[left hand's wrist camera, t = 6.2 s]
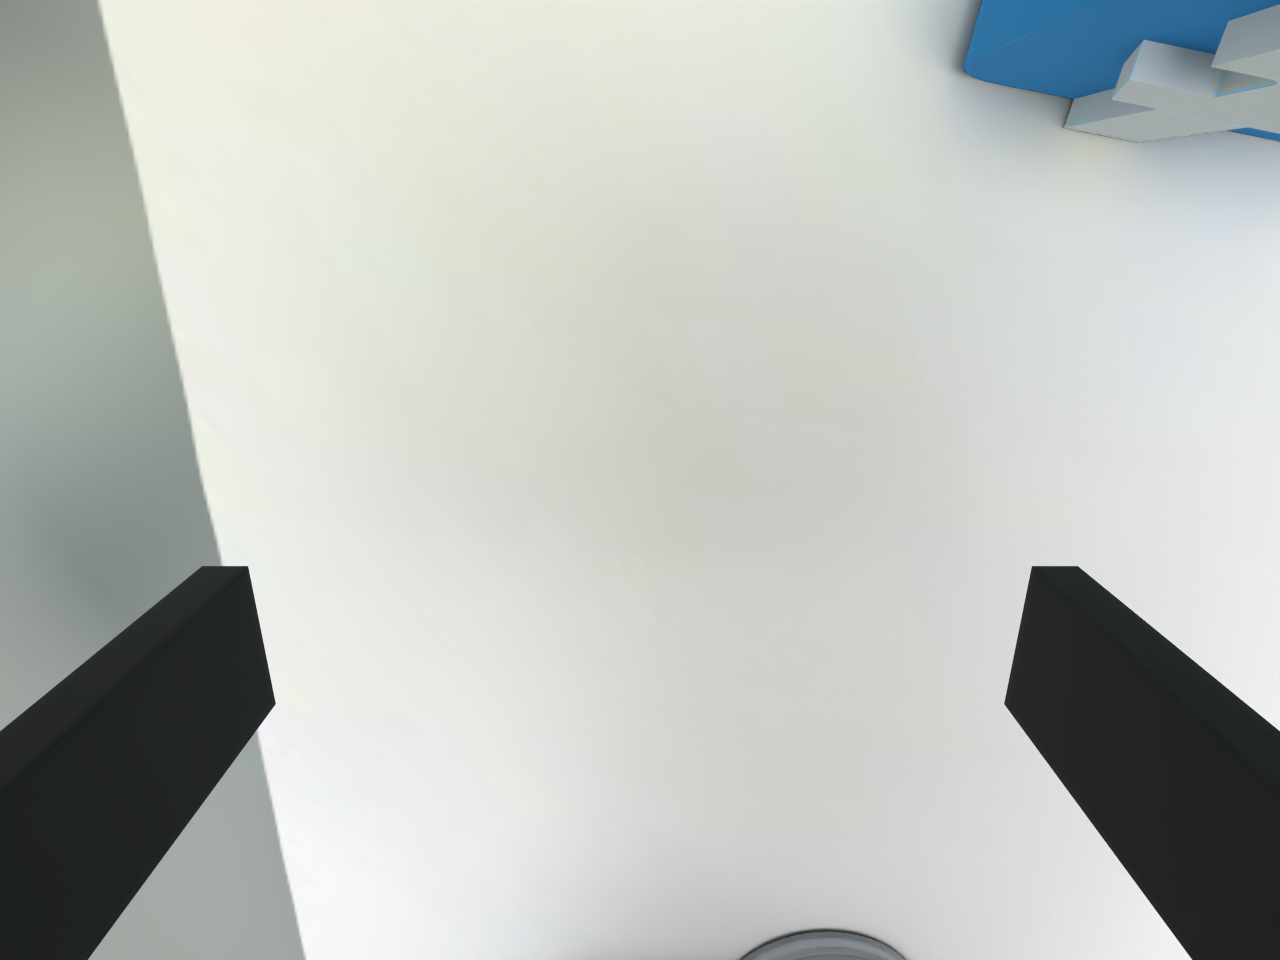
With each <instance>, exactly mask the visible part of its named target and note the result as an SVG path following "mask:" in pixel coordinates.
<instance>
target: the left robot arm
mask: <svg viewBox="0 0 1280 960" xmlns="http://www.w3.org/2000/svg"><path fill="white" fill-rule="evenodd" d="M275 704H276V703H275V698H274V693H273V688H272V683H271V679H270V674H269V669H268V664H267V659H266V654H265V649H264V644H263V639H262V634H261V629H260V624H259V619H258V614H257V609H256V604H255V599H254V594H253V589H252V584H251V579H250V574H249V569H248V566H202V567H201V568H200V569H198V570H197V571H196V572H195V573H193V574H192V575H191V576H190V577H189V578H187V579H186V580H185V581H184V582H182V583H181V584H180V585H179V586H178V587H176V588H175V589H174V590H173V591H171V592H170V593H169V594H168V595H167V596H165V597H164V598H163V599H162V600H160V601H159V602H158V603H157V604H156V605H154V606H153V607H152V608H151V609H149V610H148V611H147V612H146V613H144V614H143V615H142V616H141V617H140V618H138V619H137V620H136V621H135V622H133V623H132V624H131V625H130V626H129V627H127V628H126V629H125V630H124V631H123V632H121V633H120V634H119V635H118V636H116V637H115V638H114V639H113V640H111V641H110V642H109V643H108V644H107V645H105V646H104V647H103V648H102V649H100V650H99V651H98V652H97V653H96V654H94V655H93V656H92V657H91V658H89V659H88V660H87V661H86V662H85V663H83V664H82V665H81V666H80V667H78V668H77V669H76V670H75V671H74V672H72V673H71V674H70V675H69V676H67V677H66V678H65V679H64V680H63V681H61V682H60V683H59V684H58V685H56V686H55V687H54V688H53V689H52V690H50V691H49V692H48V693H47V694H45V695H44V696H43V697H42V698H41V699H39V700H38V701H37V702H36V703H34V704H33V705H32V706H31V707H29V708H28V709H27V710H26V711H25V712H23V713H22V714H21V715H20V716H18V717H17V718H16V719H15V720H14V721H12V722H11V723H10V724H9V725H7V726H6V727H5V728H4V729H3V730H1V731H0V960H88V959H89V957H90V956H91V954H92V953H93V952H94V950H95V949H96V948H97V946H98V945H99V944H100V942H101V941H102V939H103V938H104V937H105V935H106V934H107V933H108V931H109V930H110V929H111V927H112V926H113V925H114V923H115V922H116V920H117V919H118V918H119V916H120V915H121V914H122V912H123V911H124V910H125V908H126V907H127V905H128V904H129V903H130V901H131V900H132V899H133V897H134V896H135V894H136V893H137V892H138V891H139V889H140V888H141V886H142V885H143V884H144V882H145V881H146V880H147V878H148V877H149V876H150V874H151V873H152V871H153V870H154V869H155V867H156V866H157V865H158V863H159V862H160V861H161V859H162V858H163V857H164V855H165V854H166V852H167V851H168V850H169V848H170V847H171V846H172V844H173V843H174V842H175V840H176V839H177V837H178V836H179V835H180V833H181V832H182V831H183V829H184V828H185V827H186V825H187V824H188V823H189V821H190V820H191V818H192V817H193V816H194V814H195V813H196V812H197V810H198V809H199V808H200V806H201V805H202V803H203V802H204V801H205V799H206V798H207V797H208V795H209V794H210V793H211V791H212V790H213V788H214V787H215V786H216V784H217V783H218V782H219V780H220V779H221V778H222V776H223V775H224V774H225V772H226V771H227V769H228V768H229V767H230V765H231V764H232V763H233V761H234V760H235V759H236V757H237V756H238V755H239V753H240V752H241V750H242V749H243V748H244V746H245V745H246V744H247V742H248V741H249V740H250V738H251V737H252V735H253V734H254V733H255V731H256V730H257V729H258V727H259V726H260V725H261V723H262V722H263V721H264V719H265V718H266V716H267V715H268V714H269V712H270V711H271V710H272V708H273V707H274V706H275ZM1004 704H1005V706H1006V707H1007V708H1008V710H1009V711H1010V712H1011V714H1012V715H1013V716H1014V718H1015V719H1016V721H1017V722H1018V723H1019V725H1020V726H1021V727H1022V729H1023V730H1024V731H1025V733H1026V734H1027V735H1028V737H1029V738H1030V740H1031V741H1032V742H1033V744H1034V745H1035V746H1036V748H1037V749H1038V750H1039V752H1040V753H1041V755H1042V756H1043V757H1044V759H1045V760H1046V761H1047V763H1048V764H1049V765H1050V767H1051V768H1052V769H1053V771H1054V772H1055V774H1056V775H1057V776H1058V778H1059V779H1060V780H1061V782H1062V783H1063V784H1064V786H1065V787H1066V789H1067V790H1068V791H1069V793H1070V794H1071V795H1072V797H1073V798H1074V799H1075V801H1076V802H1077V803H1078V805H1079V806H1080V808H1081V809H1082V810H1083V812H1084V813H1085V814H1086V816H1087V817H1088V818H1089V820H1090V821H1091V823H1092V824H1093V825H1094V827H1095V828H1096V829H1097V831H1098V832H1099V833H1100V835H1101V836H1102V837H1103V839H1104V840H1105V842H1106V843H1107V844H1108V846H1109V847H1110V848H1111V850H1112V851H1113V852H1114V854H1115V855H1116V857H1117V858H1118V859H1119V861H1120V862H1121V863H1122V865H1123V866H1124V867H1125V869H1126V870H1127V871H1128V873H1129V874H1130V876H1131V877H1132V878H1133V880H1134V881H1135V882H1136V884H1137V885H1138V886H1139V888H1140V889H1141V891H1142V892H1143V893H1144V895H1145V896H1146V897H1147V899H1148V900H1149V901H1150V903H1151V904H1152V905H1153V907H1154V908H1155V910H1156V911H1157V912H1158V914H1159V915H1160V916H1161V918H1162V919H1163V920H1164V922H1165V923H1166V925H1167V926H1168V927H1169V929H1170V930H1171V931H1172V933H1173V934H1174V935H1175V937H1176V938H1177V939H1178V941H1179V942H1180V944H1181V945H1182V946H1183V948H1184V949H1185V950H1186V952H1187V953H1188V954H1189V956H1190V957H1191V959H1192V960H1280V731H1279V730H1277V729H1276V728H1275V727H1274V726H1273V725H1271V724H1270V723H1269V722H1268V721H1266V720H1265V719H1264V718H1263V717H1262V716H1260V715H1259V714H1258V713H1257V712H1255V711H1254V710H1253V709H1252V708H1251V707H1249V706H1248V705H1247V704H1246V703H1244V702H1243V701H1242V700H1241V699H1240V698H1238V697H1237V696H1236V695H1235V694H1233V693H1232V692H1231V691H1230V690H1229V689H1227V688H1226V687H1225V686H1224V685H1222V684H1221V683H1220V682H1219V681H1217V680H1216V679H1215V678H1214V677H1213V676H1211V675H1210V674H1209V673H1208V672H1206V671H1205V670H1204V669H1203V668H1202V667H1200V666H1199V665H1198V664H1197V663H1195V662H1194V661H1193V660H1192V659H1191V658H1189V657H1188V656H1187V655H1186V654H1184V653H1183V652H1182V651H1181V650H1180V649H1178V648H1177V647H1176V646H1175V645H1173V644H1172V643H1171V642H1170V641H1169V640H1167V639H1166V638H1165V637H1164V636H1162V635H1161V634H1160V633H1159V632H1158V631H1156V630H1155V629H1154V628H1153V627H1151V626H1150V625H1149V624H1148V623H1147V622H1145V621H1144V620H1143V619H1142V618H1140V617H1139V616H1138V615H1137V614H1136V613H1134V612H1133V611H1132V610H1131V609H1129V608H1128V607H1127V606H1126V605H1125V604H1123V603H1122V602H1121V601H1120V600H1118V599H1117V598H1116V597H1115V596H1114V595H1112V594H1111V593H1110V592H1109V591H1107V590H1106V589H1105V588H1104V587H1102V586H1101V585H1100V584H1099V583H1098V582H1096V581H1095V580H1094V579H1093V578H1091V577H1090V576H1089V575H1088V574H1087V573H1085V572H1084V571H1083V570H1082V569H1080V568H1079V567H1078V566H1032V569H1031V574H1030V579H1029V584H1028V589H1027V594H1026V599H1025V604H1024V609H1023V614H1022V619H1021V624H1020V629H1019V634H1018V639H1017V644H1016V649H1015V654H1014V659H1013V664H1012V669H1011V674H1010V678H1009V683H1008V688H1007V693H1006V698H1005V703H1004ZM743 960H905V959H904V958H902V957H901V956H900V955H899V954H898V953H896V952H895V951H894V950H892V949H891V948H889V947H887V946H886V945H884V944H882V943H880V942H877V941H875V940H872V939H870V938H867V937H863V936H859V935H855V934H849V933H842V932H812V933H804V934H798V935H794V936H790V937H786V938H783V939H780V940H777V941H774V942H772V943H769V944H767V945H765V946H763V947H761V948H759V949H757V950H756V951H754V952H753V953H751V954H749V955H748V956H747V957H745V958H744V959H743Z"/></svg>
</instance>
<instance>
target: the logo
mask: <svg viewBox="0 0 1280 960" xmlns="http://www.w3.org/2000/svg"><path fill="white" fill-rule="evenodd" d="M963 70H964V71H965V72H966V73H967V74H969V75H971V76H973V77H975V78H978V79H981V80H984V81H988V82H992V83H996V84H1001V85H1006V86H1011V87H1016V88H1021V89H1026V90H1031V91H1036V92H1041V93H1046V94H1051V95H1055V96H1060V97H1065V98H1070V99H1074V100H1073V103H1072V106H1071V109H1070V112H1069V115H1068V118H1067V121H1066V124H1065V127H1064V128H1068V129H1073V130H1078V131H1083V132H1088V133H1093V134H1098V135H1103V136H1107V137H1112V138H1117V139H1122V140H1127V141H1132V142H1137V143H1141V142H1148V141H1155V140H1162V139H1169V138H1176V137H1183V136H1190V135H1197V134H1204V133H1211V132H1218V131H1225V130H1229V131H1234V132H1239V133H1243V134H1248V135H1253V136H1258V137H1263V138H1268V139H1273V140H1278V141H1280V0H982V4H981V7H980V11H979V14H978V18H977V21H976V25H975V28H974V32H973V35H972V39H971V42H970V45H969V49H968V52H967V56H966V59H965V63H964V66H963Z"/></svg>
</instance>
